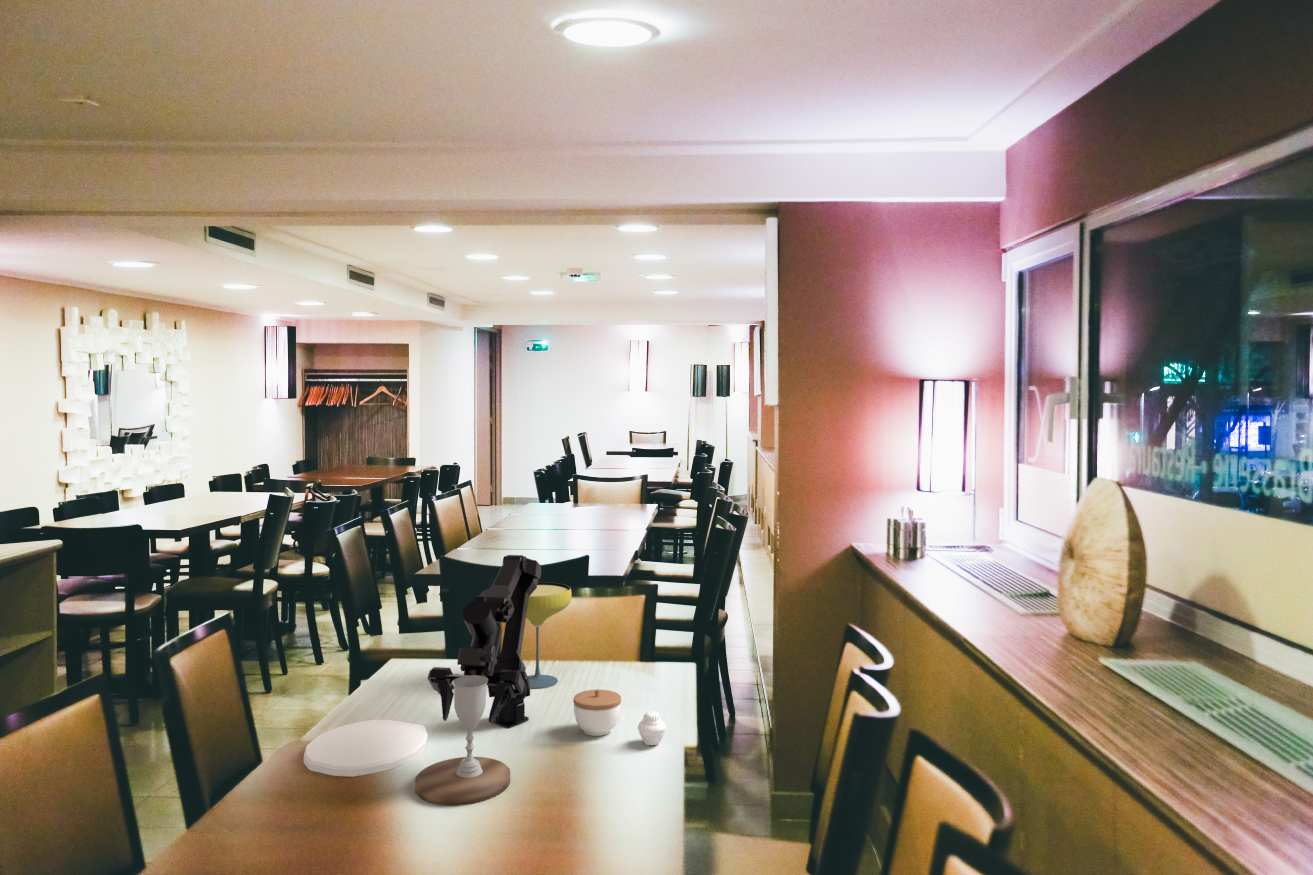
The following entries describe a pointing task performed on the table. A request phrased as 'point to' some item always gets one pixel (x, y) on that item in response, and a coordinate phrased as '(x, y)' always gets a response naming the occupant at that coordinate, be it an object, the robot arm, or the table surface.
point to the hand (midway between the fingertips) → (467, 721)
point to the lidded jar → (597, 711)
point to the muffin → (651, 728)
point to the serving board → (461, 782)
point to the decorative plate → (365, 747)
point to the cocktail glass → (539, 608)
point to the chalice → (469, 716)
